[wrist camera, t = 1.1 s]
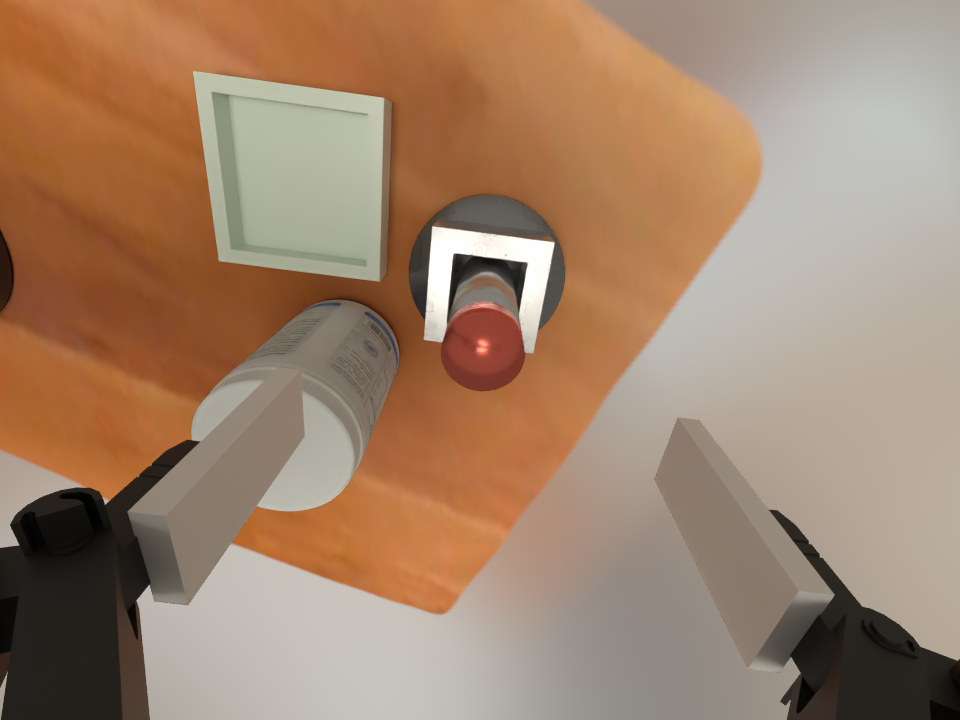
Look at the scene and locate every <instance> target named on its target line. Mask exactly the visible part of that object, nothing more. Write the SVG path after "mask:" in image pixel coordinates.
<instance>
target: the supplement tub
mask: <svg viewBox="0 0 960 720" xmlns="http://www.w3.org/2000/svg"><path fill="white" fill-rule="evenodd" d="M398 365H399V348H398V343H397V340H396V337H395V335H394V333H393V331H392V330H391V328H390V327H389V325H388V324H387V323H386V321H385V320H384V319H383V318H382V317H381V316H380V315H378V314H377V313H376V312H374V311H373V310H371V309H370V308H368V307H366V306H364V305H362V304H359V303H356V302H353V301H348V300H327V301H322V302H318V303H315V304H313V305H311V306H309V307H308V308H306V309H304V310H303V311H302V312H301V313H299V314H298V315H297V316H296V317H295V318H293V319H292V320H291V321H290V322H289V323H288V324H286V325H285V326H284V327H283V328H282V329H281V330H279V331H278V332H277V333H276V334H275V335H274V336H272V337H271V338H270V339H269V340H268V341H266V342H265V343H264V344H263V345H262V346H261V347H259V348H258V349H257V350H256V351H255V352H254V353H252V354H251V355H250V356H249V357H248V358H246V359H245V360H244V361H243V362H242V363H241V364H239V365H238V366H237V367H236V368H235V369H234V370H232V371H231V372H230V373H229V374H228V375H227V376H226V377H224V378H223V379H222V380H221V381H220V382H219V383H218V384H217V385H216V386H215V387H214V388H213V390H212V391H211V392H210V394H209V395H208V396H207V397H206V398H205V399H204V400H203V401H202V403H201V404H200V405H199V407H198V409H197V410H196V413H195V415H194V418H193V422H192V427H191V436H192V440H193V441H202V440H203V439H204V438H205V437H206V436H207V435H208V434H209V433H210V432H211V431H212V430H213V429H214V428H215V427H216V426H217V425H218V424H220V423H221V422H222V421H223V420H224V419H225V418H226V417H227V416H228V415H229V414H230V413H231V412H232V411H233V410H234V409H235V408H236V407H237V406H238V405H239V404H240V403H242V402H243V401H244V400H245V399H246V398H247V397H248V396H249V395H250V394H251V393H252V392H253V391H254V390H255V389H256V388H257V387H258V386H259V385H260V384H261V383H262V382H263V381H265V380H266V379H267V378H268V377H269V376H270V375H271V374H272V373H273V372H274V371H275V370H276V369H277V368H278V367H281V368H289V369H297V370H301V381H302V397H303V414H304V430H305V437H304V438H303V440H302V441H301V443H300V444H299V445H298V447H297V448H296V450H295V451H294V453H293V454H292V456H291V457H290V458H289V460H288V461H287V463H286V464H285V466H284V467H283V469H282V470H281V472H280V473H279V474H278V476H277V477H276V479H275V480H274V482H273V483H272V485H271V486H270V487H269V489H268V490H267V492H266V493H265V495H264V496H263V498H262V499H261V500H260V502H259V503H258V505H257V506H259V507H262V508H266V509H271V510H277V511H301V510H307V509H312V508H315V507H318V506H321V505H323V504H325V503H327V502H329V501H331V500H332V499H334V498H335V497H336V496H337V495H339V494H340V493H341V492H342V491H343V490H344V488H345V487H346V486H347V484H348V483H349V481H350V479H351V477H352V475H353V474H354V472H355V471H356V469H357V467H358V465H359V463H360V461H361V459H362V456H363V454H364V452H365V449H366V447H367V445H368V442H369V440H370V437H371V435H372V432H373V430H374V427H375V425H376V422H377V420H378V417H379V415H380V412H381V410H382V408H383V405H384V403H385V400H386V398H387V395H388V393H389V390H390V388H391V385H392V382H393V380H394V377H395V375H396V373H397V369H398Z"/></svg>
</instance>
